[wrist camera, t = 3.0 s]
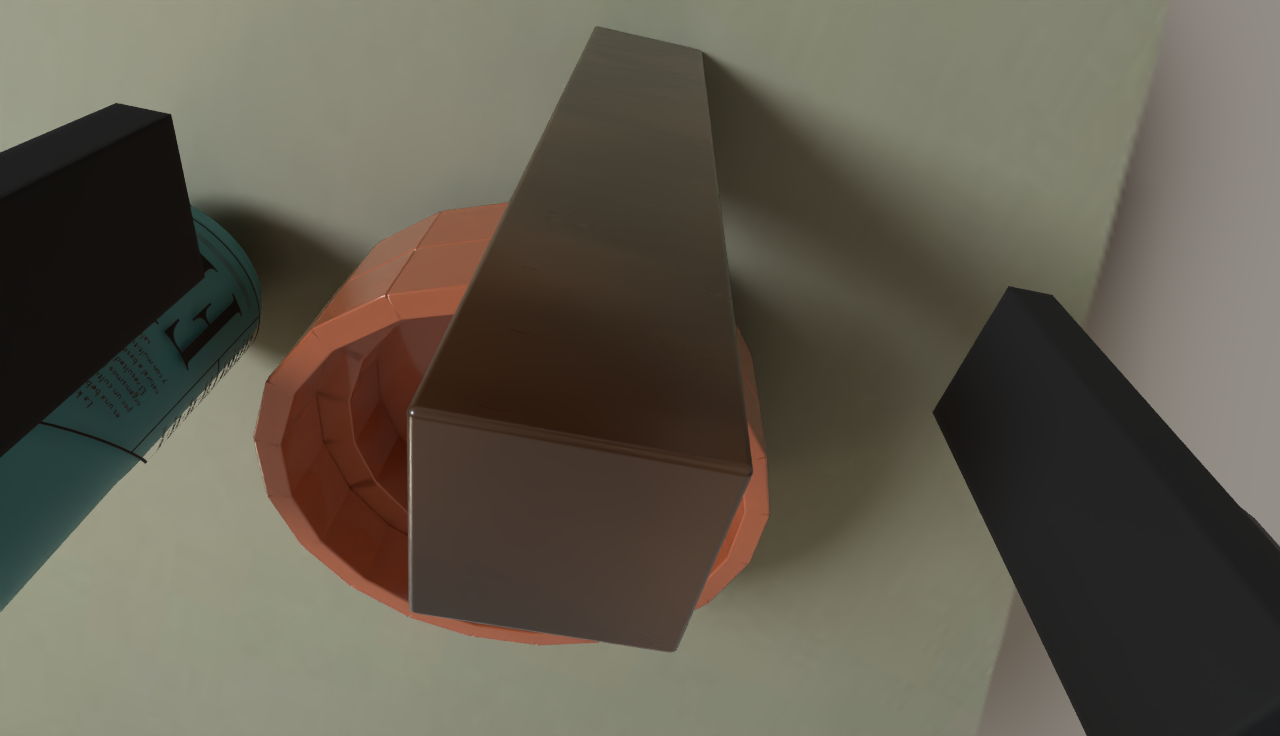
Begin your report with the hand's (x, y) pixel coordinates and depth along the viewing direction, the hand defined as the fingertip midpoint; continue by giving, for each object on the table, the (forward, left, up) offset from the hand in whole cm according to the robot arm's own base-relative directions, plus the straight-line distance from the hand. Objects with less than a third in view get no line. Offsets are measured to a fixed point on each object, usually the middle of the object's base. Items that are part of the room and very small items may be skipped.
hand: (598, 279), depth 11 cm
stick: (0, 0, -10) cm, 10 cm away
